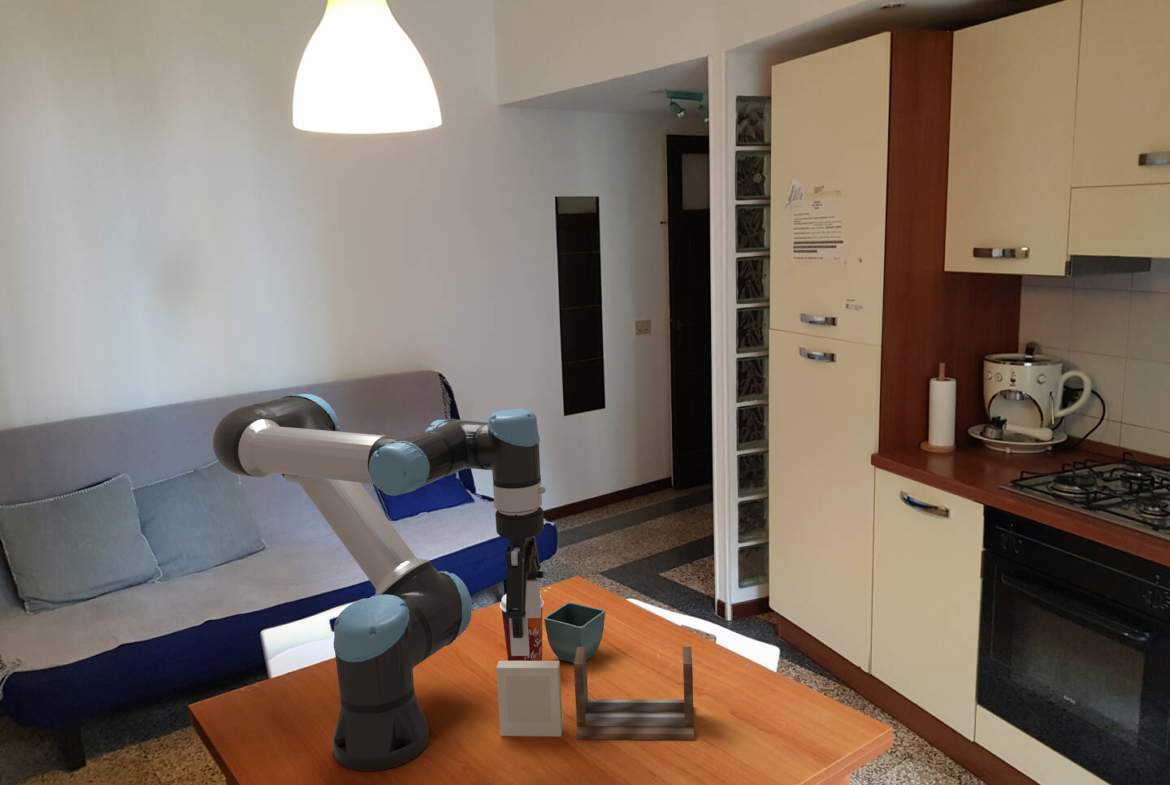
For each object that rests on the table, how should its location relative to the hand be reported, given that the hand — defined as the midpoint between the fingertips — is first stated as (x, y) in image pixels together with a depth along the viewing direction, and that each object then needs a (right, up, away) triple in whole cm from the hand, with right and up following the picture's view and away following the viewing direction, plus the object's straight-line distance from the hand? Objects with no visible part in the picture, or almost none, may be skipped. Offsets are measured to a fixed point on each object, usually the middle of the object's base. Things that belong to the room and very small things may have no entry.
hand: (527, 635), depth 144 cm
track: (+18, -16, +4) cm, 24 cm away
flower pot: (+8, -12, +28) cm, 32 cm away
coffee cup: (-2, -13, +23) cm, 27 cm away
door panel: (+1, -17, +3) cm, 17 cm away
